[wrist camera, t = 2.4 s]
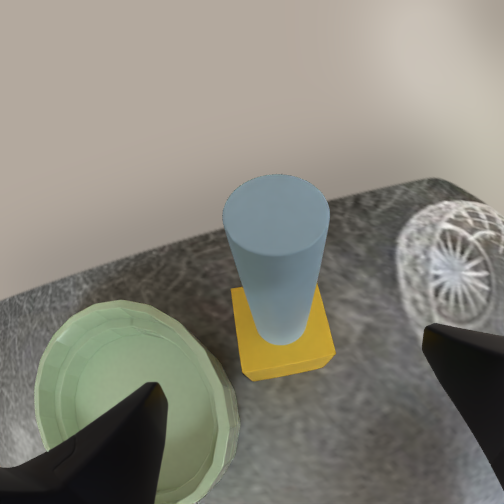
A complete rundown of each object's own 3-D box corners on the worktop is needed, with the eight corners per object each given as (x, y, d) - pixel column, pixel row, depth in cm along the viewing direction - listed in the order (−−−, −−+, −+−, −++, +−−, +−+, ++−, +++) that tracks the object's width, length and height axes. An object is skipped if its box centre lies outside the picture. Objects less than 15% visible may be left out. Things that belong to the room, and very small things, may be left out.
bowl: (223, 524, 11) (208, 549, 7) (60, 455, 14) (26, 454, 10) (255, 338, 19) (248, 318, 15) (92, 308, 22) (63, 286, 18)
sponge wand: (323, 367, 17) (402, 274, 6) (252, 381, 17) (182, 318, 6) (308, 303, 20) (332, 143, 8) (242, 316, 20) (183, 168, 8)
